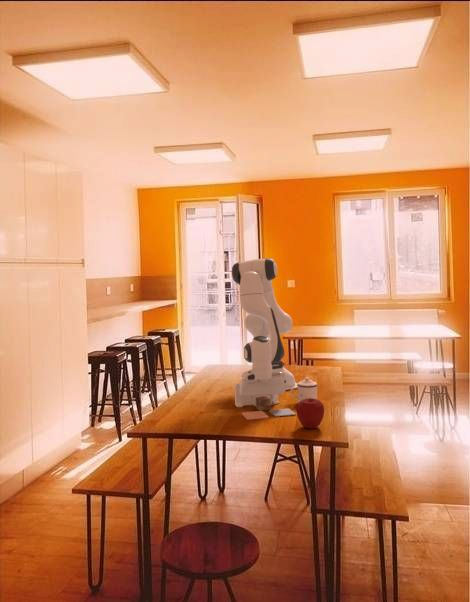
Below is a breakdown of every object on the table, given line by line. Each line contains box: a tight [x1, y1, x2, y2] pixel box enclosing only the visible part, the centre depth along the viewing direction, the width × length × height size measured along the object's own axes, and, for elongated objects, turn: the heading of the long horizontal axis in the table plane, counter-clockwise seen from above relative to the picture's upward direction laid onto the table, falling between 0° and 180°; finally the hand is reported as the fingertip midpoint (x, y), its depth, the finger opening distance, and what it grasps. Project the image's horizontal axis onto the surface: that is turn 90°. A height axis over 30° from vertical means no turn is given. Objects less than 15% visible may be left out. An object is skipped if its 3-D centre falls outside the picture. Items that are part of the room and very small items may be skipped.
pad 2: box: [268, 408, 297, 418], centre depth 218 cm, size 9×9×1 cm
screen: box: [234, 382, 280, 408], centre depth 234 cm, size 20×5×10 cm, turn 103°
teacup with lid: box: [290, 377, 318, 404], centre depth 234 cm, size 12×9×12 cm
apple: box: [295, 398, 325, 430], centre depth 198 cm, size 11×11×12 cm
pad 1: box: [241, 410, 269, 421], centre depth 216 cm, size 9×9×1 cm
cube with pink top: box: [255, 396, 271, 411], centre depth 226 cm, size 5×5×5 cm
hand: (262, 404), depth 226 cm, fingers closed on cube with pink top, 5 cm apart
